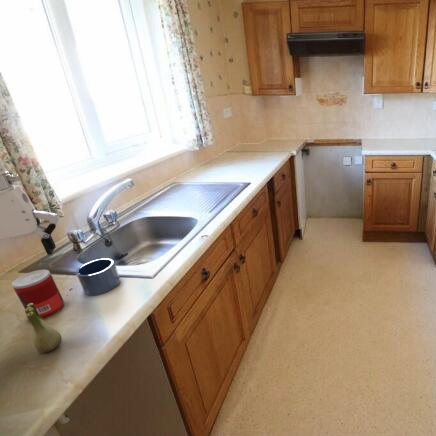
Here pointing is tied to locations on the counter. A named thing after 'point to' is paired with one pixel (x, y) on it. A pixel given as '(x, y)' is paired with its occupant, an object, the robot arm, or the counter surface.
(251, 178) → the counter surface
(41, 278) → the canned food
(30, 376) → the counter surface
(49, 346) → the fennel bulb
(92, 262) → the crock
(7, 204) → the robot arm
